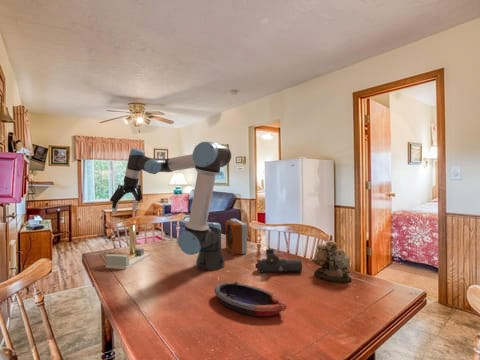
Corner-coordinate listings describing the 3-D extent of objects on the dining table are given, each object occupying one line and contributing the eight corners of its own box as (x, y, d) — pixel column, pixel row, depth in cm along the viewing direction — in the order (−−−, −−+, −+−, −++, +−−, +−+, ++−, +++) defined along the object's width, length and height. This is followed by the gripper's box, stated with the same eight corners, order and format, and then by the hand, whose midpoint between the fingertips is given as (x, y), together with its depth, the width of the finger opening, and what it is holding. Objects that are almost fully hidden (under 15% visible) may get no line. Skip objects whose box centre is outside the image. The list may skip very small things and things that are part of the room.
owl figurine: (307, 277, 127) (307, 240, 127) (317, 270, 137) (316, 236, 137) (347, 285, 117) (347, 246, 117) (354, 277, 126) (354, 241, 126)
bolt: (136, 253, 163) (136, 223, 162) (141, 253, 162) (140, 223, 162) (124, 259, 151) (123, 227, 151) (129, 260, 150) (128, 227, 150)
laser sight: (303, 275, 130) (302, 254, 130) (256, 275, 130) (255, 254, 130) (298, 268, 140) (298, 249, 139) (255, 268, 140) (255, 249, 140)
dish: (231, 288, 116) (231, 276, 116) (295, 311, 96) (295, 297, 96) (204, 301, 104) (203, 288, 104) (270, 330, 84) (270, 314, 84)
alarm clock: (225, 247, 180) (225, 216, 179) (238, 246, 182) (237, 216, 182) (233, 255, 162) (232, 221, 162) (247, 254, 165) (246, 220, 164)
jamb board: (131, 255, 165) (130, 244, 165) (149, 256, 162) (148, 245, 162) (106, 267, 143) (105, 255, 143) (126, 269, 141) (126, 256, 141)
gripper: (144, 174, 163) (136, 207, 166) (107, 174, 141) (99, 212, 144) (153, 178, 160) (145, 212, 163) (117, 178, 138) (109, 217, 141)
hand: (124, 212), depth 154 cm, fingers open, 13 cm apart
